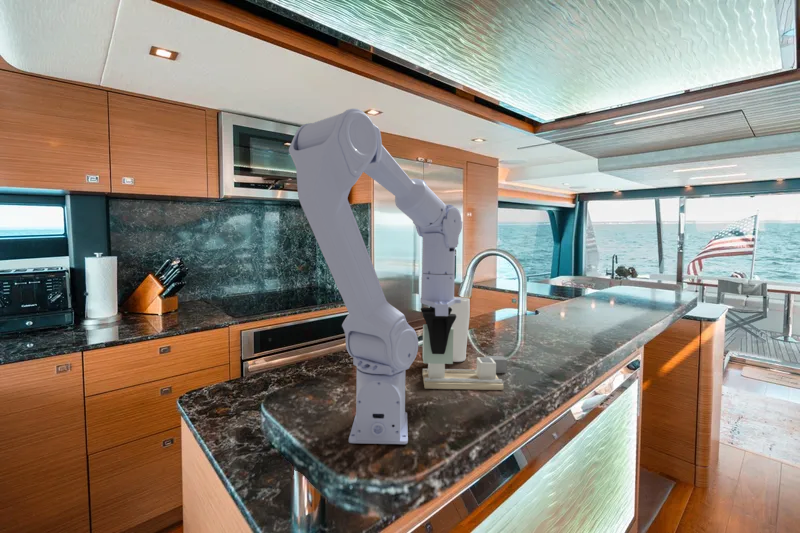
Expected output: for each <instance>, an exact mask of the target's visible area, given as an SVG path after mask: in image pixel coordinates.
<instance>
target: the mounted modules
mask: <svg viewBox="0 0 800 533" xmlns="http://www.w3.org/2000/svg"><path fill="white" fill-rule="evenodd" d="M427 369H428V376H429V378H445V369H446V364H431V363H427ZM475 370H476V374H477V376H478V378H479V379H496V375H497V373H496V363H495V361H494V360H493V359H492V358H486V357H476V369H475Z"/></svg>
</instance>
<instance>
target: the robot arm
mask: <svg viewBox="0 0 800 533" xmlns="http://www.w3.org/2000/svg"><path fill="white" fill-rule="evenodd" d="M367 114H368V113H367ZM367 114H366V113H365V112H364V111H363V110H361V109H360V108H348V109H346V110H345V111H343V112H342V113H338V114H336V115H332V116H329V117H327V118H324V119H321V120H318V121H315V122H310V123H309V122H308V123H305V124H302V125H301V126H299V127H298V129H297V130H296V132H295V133H294V136H293V138H292V141H291V143H290V145H289V148H288V153H289V155H290V157H291V159H292V161H293V165H294V167H295V172H296V184H297V197H298V201H299V203H300V206H301V208H302V211H303V213H304V215H305V217H306V219H307V221H308V223H309V226H310V229H311V231H312V233H313V235H314V238H315V239H316V242H317V244H318V247H319V249H320V251H321V253H322V255H323V257H324V260H325V262H326V264H327V267H328V269H329V271H330V274H331V276H332V278H333V280H334V282H335V284H336V287H337V289H338V292H339V294H340V296H341V299H342V300H343V303H344V305H345V307H346V310H347V312H348V314H347V316H346V317H345V319H344V320H343V322H342V324H341V328H342V329H343V332H344V335H345V336H344V337H345V348H346V352H348V354H349V356H350V357H351V358H353V359H352V362H353V366H355V367H356V386H355V387H356V396H355V397H356V398H355V402H356V404H355V407H356V408H355V416H354V420H353V423H352V426H351V430H350V433H349V437H348V443H349V444H361V445H363V444H367V445H368V444H369V445H370V444H371V445H377V444H378V445H407V444H408V443H409V437H408V436H409V435H408V433H409V432H408V431H409V429H408V412H406V370H409V369H410V368H411V367H410V366H411V365H412V364H413V363H414V361H415V359H416V357H417V355H418V352H419V351H418V350H419V339H418V338H419V337H418V335H417V332H416V330H415V328H414V327H412V326H411V325H410V324H409V323H408V322H407V319H406V315H405V314H404V313H403V312H401V311H400V310H399V309H398V308H396V307H395V306H394V305H392V304H390V303H389V301H387V297H386V296H385V293H384V291H383V288H382V285H381V283H380V280H379V278H378V275H377V272H376V270H375V267H374V265H373V262H372V259H371V257H370V254H369V252H368V250H367V246H366V244H365V241H364V239H363V236H362V233H361V231H360V229H359V226H358V223H357V220H356V218H355V215H354V213H353V210H352V208H351V204H350V202H349V199H348V197H349V194H350V192H351V190H352V187H354V185H356V183H357V182H358V180H359V179H360V177H362V174H363V173H364V174H365V175H366V176H368V177H370V179H372V180H374V181H375V182H376V183H377V184H379V185H380V186H381V187H383V188H384V189H385V190H386V191H388V192H389V193H390V194H392V195H393V196H394V203H395V206H396V208H397V209H398V210H400V211H401V212H402V213H403V214H404V215H405V216H407V217H408V218H409V219H410V220H411V221H412V223H413V224H414V227H415V230H416V232H417V235H418V236H419V237H420V238H421V237H422V249H421V250H422V251H421V252H422V253H421V254H422V255H421V256H422V257H421V259H422V260H421V261H422V262H421V264H422V265H421V298H420V303H421V304H423V305H426V306H429V307H421V308H420V311H421V314H422V317H423V319H424V321H425V324H427V327H428V331H429V338H430V346H431V350H432V354H444V353H445V350H446V346H447V341H448V336H449V333H450V329H451V327H452V325H453V323H454V321H455V319H456V315H455V314H450V313H451V311H452V308H451V307H450V306H452V305H453V304H455V303H461V299H460V298H454V297H455V279H456V278H455V274H456V273H455V271H456V270H455V269H456V268H455V267H456V248H458V245H459V239H460V234H461V232H462V228H463V221H462V215H461V213H460V210H459V209H458V208H457V207H455V206H454V205H452V204H446V203H444V201H443V200H441V198H440V197H438V195H437V194H436V193H435V191H434V190H432V189H431V188H430V187H429V186H428V184H427V181H425V180H424V179H422V178H421V179H419V178H411V177H409V175H408V174H407V173H406V172H405V171H404V169H403V168H402V167H401V166H400V164H399V163H398V162H397V161H396V160H395V158H394V156H392V155H391V154H390V152H389V151H388V150H387V149H386V148H385V146H384V145H383V142H382V133H381V129H380V128H379V127H378V126H377V125H375V124H374V123H373V121H372V119H371V118H370V117H369V115H367Z"/></svg>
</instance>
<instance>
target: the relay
mask: <svg viewBox="0 0 800 533" xmlns="http://www.w3.org/2000/svg"><path fill="white" fill-rule="evenodd" d="M485 358H492V359H493V360H494V361H495V363H496V374H501V373H502V374H507V372H508V371H507V368H508V367H507V366H508V364H507V363H508V359H507V358H506V357H505V356H503V355H502V356H501V355H485Z"/></svg>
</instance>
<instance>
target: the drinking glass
mask: <svg viewBox="0 0 800 533" xmlns="http://www.w3.org/2000/svg"><path fill="white" fill-rule="evenodd" d="M454 298H460V299H461V303H455V304H453V305H452V306H450V307H451V308H452V311H451V313H450V314H455V315H456V319H455V321H454V323H453V325H452V328H453V363H462V362H464V361H466V358H467V345H468V336H469V326H470V317H471V312H470V311H471V299H470V298H469V297H463V296H462V297H461V296H454Z"/></svg>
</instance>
